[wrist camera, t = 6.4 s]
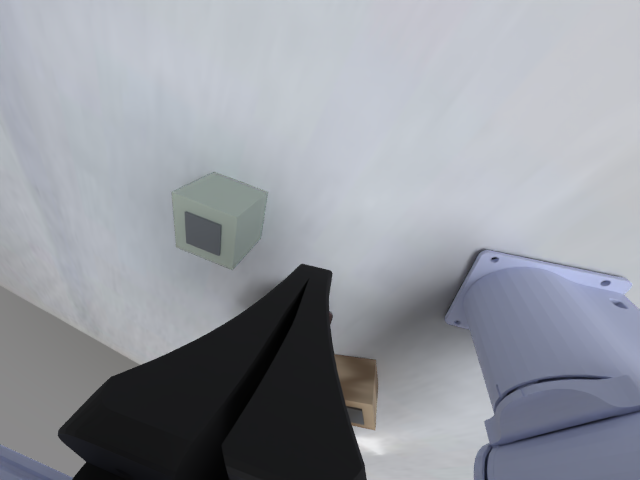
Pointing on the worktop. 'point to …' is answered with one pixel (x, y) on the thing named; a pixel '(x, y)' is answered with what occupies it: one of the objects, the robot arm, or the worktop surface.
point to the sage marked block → (218, 218)
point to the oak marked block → (359, 389)
